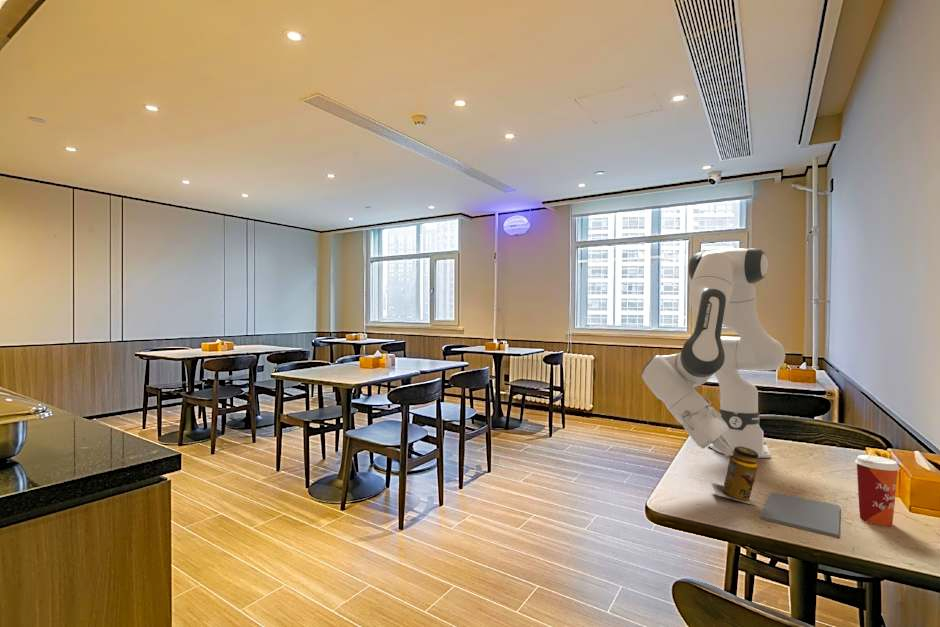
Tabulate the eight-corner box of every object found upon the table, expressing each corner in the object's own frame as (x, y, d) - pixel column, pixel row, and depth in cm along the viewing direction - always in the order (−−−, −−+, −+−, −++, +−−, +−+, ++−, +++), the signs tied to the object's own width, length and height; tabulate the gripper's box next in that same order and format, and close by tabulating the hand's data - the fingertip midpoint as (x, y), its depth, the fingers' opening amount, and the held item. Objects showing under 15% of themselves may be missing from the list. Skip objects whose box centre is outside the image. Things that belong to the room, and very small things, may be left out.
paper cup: (886, 531, 103) (887, 466, 103) (846, 517, 110) (847, 456, 110) (906, 525, 106) (907, 462, 106) (866, 512, 113) (867, 452, 113)
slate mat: (771, 493, 124) (771, 491, 124) (839, 508, 115) (839, 505, 115) (760, 518, 108) (760, 516, 108) (838, 537, 99) (838, 534, 99)
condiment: (754, 505, 116) (766, 458, 114) (716, 495, 118) (727, 449, 117) (746, 492, 123) (757, 448, 121) (710, 483, 125) (720, 439, 124)
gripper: (688, 407, 117) (732, 455, 111) (708, 397, 133) (748, 439, 127) (669, 422, 120) (711, 470, 114) (691, 411, 136) (729, 452, 130)
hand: (731, 453), depth 120 cm, fingers closed, pressing on condiment
